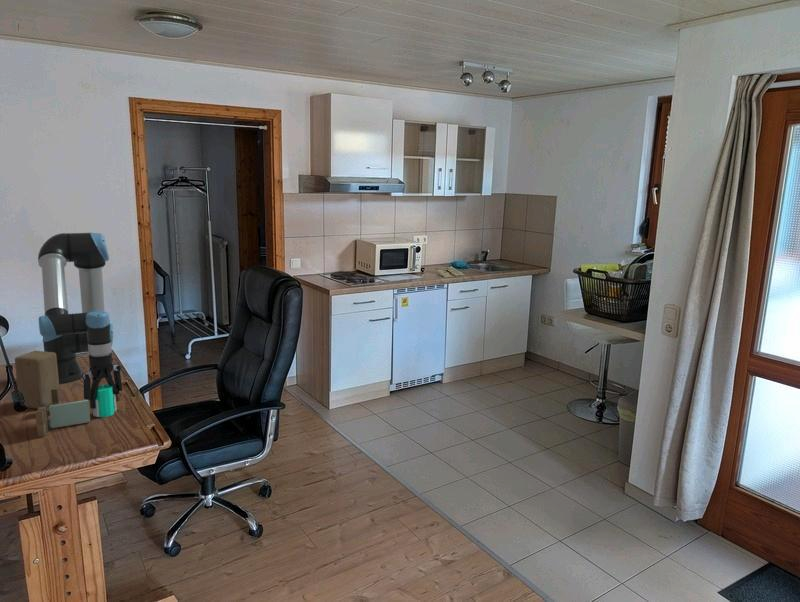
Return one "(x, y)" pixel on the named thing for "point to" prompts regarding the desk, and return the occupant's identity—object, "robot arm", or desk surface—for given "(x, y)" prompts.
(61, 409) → the sage green plank
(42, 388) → the wooden block
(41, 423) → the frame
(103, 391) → the candle
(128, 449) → the desk surface
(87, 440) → the desk surface
